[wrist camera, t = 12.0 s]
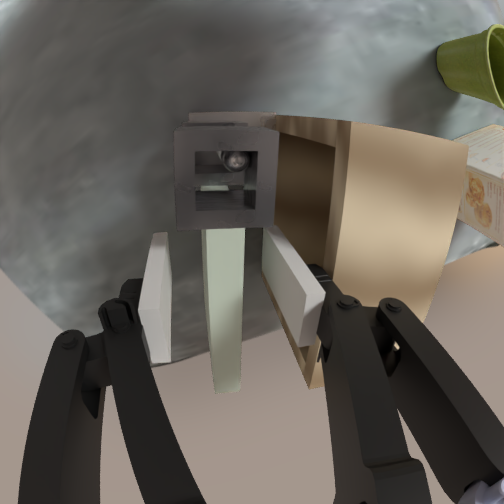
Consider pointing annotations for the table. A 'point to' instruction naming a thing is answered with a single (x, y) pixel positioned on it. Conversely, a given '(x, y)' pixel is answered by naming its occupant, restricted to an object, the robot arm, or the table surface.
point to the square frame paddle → (224, 224)
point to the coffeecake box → (484, 182)
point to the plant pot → (475, 65)
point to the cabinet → (359, 207)
